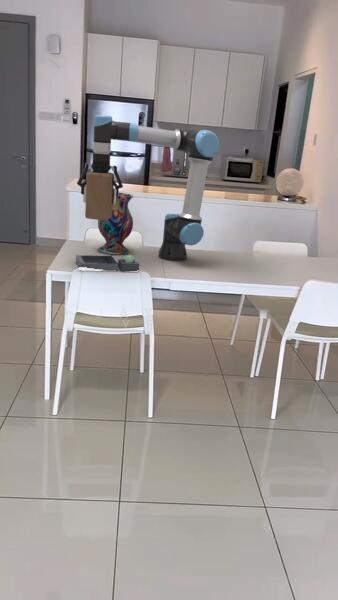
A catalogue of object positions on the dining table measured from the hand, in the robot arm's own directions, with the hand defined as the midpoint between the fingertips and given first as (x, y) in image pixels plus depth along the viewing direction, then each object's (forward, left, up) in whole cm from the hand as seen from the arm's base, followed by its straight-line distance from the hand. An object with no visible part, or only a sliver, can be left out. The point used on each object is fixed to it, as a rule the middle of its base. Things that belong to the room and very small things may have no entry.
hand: (99, 202), depth 216 cm
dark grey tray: (0, 0, -30) cm, 30 cm away
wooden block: (0, 0, -7) cm, 7 cm away
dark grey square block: (-14, +5, -30) cm, 33 cm away
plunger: (-14, +5, -28) cm, 32 cm away
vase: (-15, -31, -30) cm, 45 cm away
